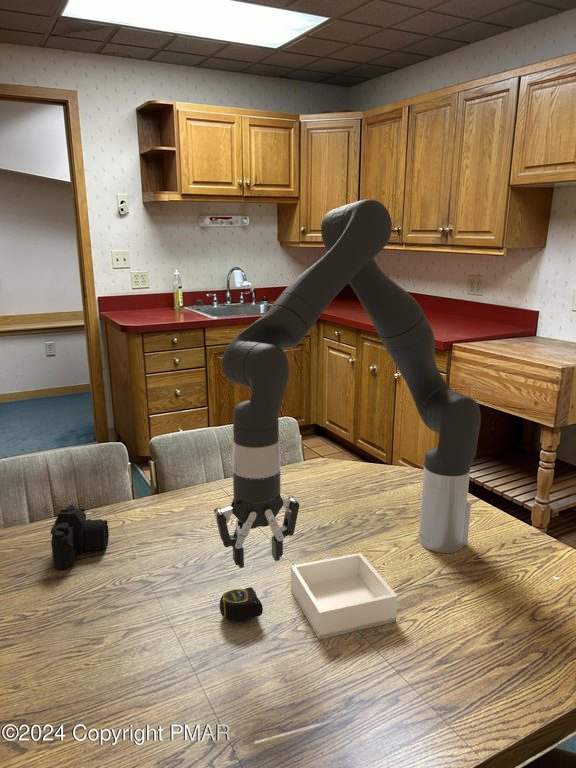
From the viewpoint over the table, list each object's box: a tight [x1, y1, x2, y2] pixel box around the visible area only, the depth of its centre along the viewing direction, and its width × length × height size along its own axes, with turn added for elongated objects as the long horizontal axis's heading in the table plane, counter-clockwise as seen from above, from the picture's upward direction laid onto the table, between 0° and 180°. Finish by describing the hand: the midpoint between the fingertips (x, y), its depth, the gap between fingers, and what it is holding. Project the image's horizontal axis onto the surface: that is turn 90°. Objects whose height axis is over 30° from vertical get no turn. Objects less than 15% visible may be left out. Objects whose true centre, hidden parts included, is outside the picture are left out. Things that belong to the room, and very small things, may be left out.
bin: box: [290, 552, 398, 640], centre depth 100 cm, size 14×14×5 cm
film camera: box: [50, 504, 110, 571], centre depth 116 cm, size 15×10×9 cm, turn 8°
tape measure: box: [219, 587, 264, 623], centre depth 97 cm, size 7×7×4 cm
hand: (258, 561), depth 94 cm, fingers open, 5 cm apart
